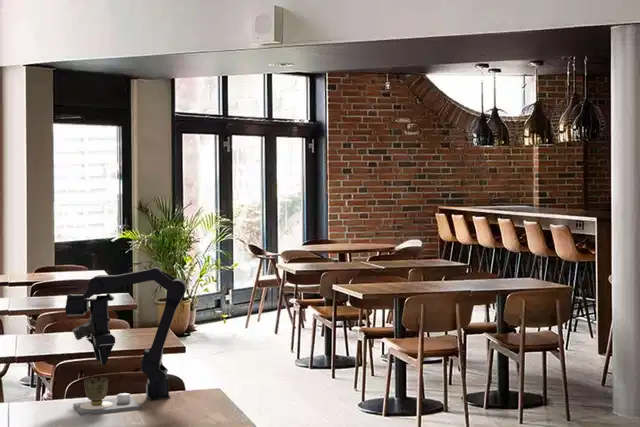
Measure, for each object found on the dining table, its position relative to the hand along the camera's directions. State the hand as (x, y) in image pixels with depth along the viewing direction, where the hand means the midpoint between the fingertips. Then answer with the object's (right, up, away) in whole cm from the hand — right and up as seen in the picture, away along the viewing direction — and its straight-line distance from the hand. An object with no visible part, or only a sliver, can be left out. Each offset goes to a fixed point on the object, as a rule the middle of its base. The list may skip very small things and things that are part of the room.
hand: (100, 362), depth 311 cm
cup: (+1, -11, -12) cm, 17 cm away
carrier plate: (+4, -12, -11) cm, 17 cm away
